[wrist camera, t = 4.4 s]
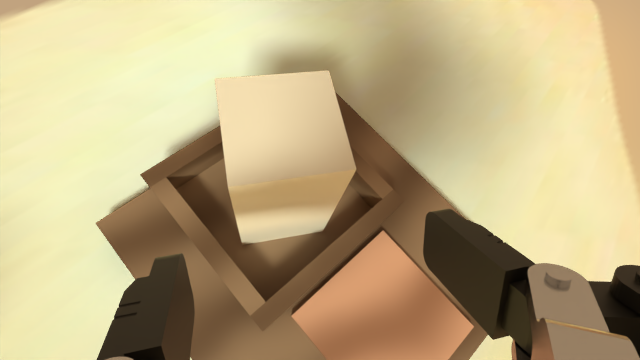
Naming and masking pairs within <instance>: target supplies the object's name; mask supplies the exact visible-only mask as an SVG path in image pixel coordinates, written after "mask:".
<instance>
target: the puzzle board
mask: <svg viewBox="0 0 640 360" xmlns="http://www.w3.org/2000/svg"><path fill="white" fill-rule="evenodd" d="M335 94H336V97H337V101H338V104H339V108H340V112H341V115H342V119H343V122H344V126H345V130H346V133H347V137H348V140H349V144H350V148H351V151H352V155H353V158H354V162H355V166H356V171H355V173H354V175H353V177H352V179H351V180H350V182H349V184H348V186H347V188H346V190H345V191H344V193H343V195H342V197H341V199H340V201H339V202H338V204H337V206H336V208H335V210H334V212H333V213H332V215H331V217H330V219H329V221H328V223H327V224H326V226H325V228H324V230H323V231H321V232H315V233H309V234H304V235H298V236H292V237H286V238H280V239H275V240H269V241H263V242H257V243H252V244H246V245H242V242H241V238H240V234H239V230H238V226H237V222H236V218H235V214H234V210H233V206H232V202H231V198H230V194H229V190H228V184H227V176H226V168H225V160H224V151H223V143H222V135H221V127H220V126H219V127H217V128H216V129H214V130H212V131H211V132H209V133H207V134H206V135H204V136H203V137H201V138H199V139H198V140H196V141H194V142H193V143H191V144H189V145H188V146H186V147H185V148H183V149H181V150H180V151H178V152H176V153H175V154H173V155H171V156H170V157H168V158H167V159H165V160H163V161H162V162H160V163H158V164H157V165H155V166H153V167H152V168H150V169H149V170H147V171H145V172H144V173H142V174H140V175H141V176H142V178H143V179H144V180H145V182H146V183H147V184H148V186H149V187H150V189H149V190H147V191H145V192H144V193H142V194H141V195H139V196H137V197H136V198H134V199H133V200H131V201H130V202H128V203H126V204H125V205H123V206H122V207H120V208H119V209H117V210H115V211H114V212H112V213H111V214H109V215H108V216H106V217H104V218H103V219H101V220H100V221H98V222H96V225H97V226H98V227H99V229H100V230H101V232H102V233H103V234H104V236H105V237H106V239H107V240H108V241H109V243H110V244H111V246H112V247H113V249H114V250H115V251H116V253H117V254H118V256H119V257H120V258H121V260H122V261H123V263H124V264H125V265H126V267H127V268H128V270H129V271H130V272H131V274H132V275H133V277H134V278H135V280H136V279H137V278H141V277H147V276H149V274H150V271H151V268H152V265H153V262H154V259H155V258H156V257H162V256H168V255H174V254H180V253H182V254H183V255H184V258H185V262H186V266H187V270H188V275H189V279H190V284H191V288H192V292H193V298H194V307H195V316H194V326H193V335H192V344H191V353H190V357H191V358H192V360H469V359H470V357H471V356H472V355H473V353H474V352H475V351H476V349H477V348H478V347H479V345H480V344H481V343H482V342H483V340H484V339H485V338H486V336H487V335H488V334H487V333H486V331H485V330H484V329H483V328H482V327H481V326H480V325H479V324H478V323H477V321H476V320H475V319H474V318H473V317H472V316H471V315H470V314H469V313H468V312H467V310H466V309H465V308H464V307H463V306H462V305H461V304H460V303H459V302H458V300H457V299H456V298H455V297H454V296H453V295H452V294H451V293H450V292H449V291H448V289H447V288H446V287H445V286H444V285H443V284H442V283H441V282H440V281H439V279H438V278H437V277H436V276H435V275H434V274H433V273H432V272H431V271H430V270H429V268H428V267H427V265H426V263H425V260H424V256H423V244H424V230H425V218H426V215H427V213H428V212H432V211H437V210H443V209H452V210H453V211H455V212H456V213H458V212H457V211H456V210H455V209H454V208H453V207H452V206H451V205H450V204H449V203H448V202H447V201H446V200H445V199H444V198H443V197H442V196H441V195H440V194H439V193H438V192H437V191H436V190H435V189H434V188H433V187H432V186H431V185H430V184H429V183H428V182H427V181H426V180H425V179H424V178H423V177H422V176H421V175H419V174H418V173H417V172H416V171H415V170H414V169H413V168H412V167H411V166H410V165H409V164H408V163H407V162H406V161H405V160H404V159H403V158H402V157H401V156H400V155H399V154H398V153H397V152H396V151H395V150H394V149H393V148H392V147H391V146H390V145H389V144H388V143H387V142H386V141H385V140H384V139H383V138H382V137H381V136H380V135H379V134H378V133H377V132H376V131H375V130H374V129H372V128H371V127H370V126H369V125H368V124H367V123H366V122H365V121H364V120H363V119H362V118H361V117H360V116H359V115H358V114H357V113H356V112H355V111H354V110H353V109H352V108H351V107H350V106H349V105H348V104H347V103H346V102H345V101H344V100H343V99H342V98H341V97H340V96H339V95H338V94H337V93H336V92H335ZM458 214H459V213H458ZM459 215H460V214H459ZM460 216H461V215H460Z"/></svg>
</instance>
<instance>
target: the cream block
mask: <svg viewBox="0 0 640 360" xmlns="http://www.w3.org/2000/svg"><path fill="white" fill-rule="evenodd" d="M215 86H216V94H217V102H218V110H219V119H220V127H221V135H222V143H223V151H224V160H225V168H226V176H227V184H228V190H229V194H230V198H231V202H232V206H233V210H234V214H235V218H236V222H237V226H238V230H239V234H240V238H241V242H242V245H246V244H252V243H257V242H263V241H269V240H275V239H280V238H286V237H292V236H298V235H304V234H309V233H315V232H321V231H323V230H324V228H325V226H326V224H327V223H328V221H329V219H330V217H331V215H332V213H333V212H334V210H335V208H336V206H337V204H338V202H339V201H340V199H341V197H342V195H343V193H344V191H345V190H346V188H347V186H348V184H349V182H350V180H351V179H352V177H353V175H354V173H355V171H356V166H355V162H354V158H353V155H352V151H351V148H350V144H349V140H348V137H347V133H346V130H345V126H344V122H343V119H342V115H341V112H340V108H339V104H338V101H337V97H336V94H335V90H334V87H333V83H332V79H331V76H330V72H329V70H327V71H313V72H299V73H285V74H272V75H258V76H244V77H230V78H216V79H215Z"/></svg>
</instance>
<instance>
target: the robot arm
mask: <svg viewBox="0 0 640 360" xmlns="http://www.w3.org/2000/svg"><path fill="white" fill-rule="evenodd" d="M423 256H424V260H425V263H426V265H427V267H428V268H429V270H430V271H431V272H432V273H433V274H434V275H435V276H436V277H437V278H438V279H439V281H440V282H441V283H442V284H443V285H444V286H445V287H446V288H447V289H448V291H449V292H450V293H451V294H452V295H453V296H454V297H455V298H456V299H457V300H458V302H459V303H460V304H461V305H462V306H463V307H464V308H465V309H466V310H467V312H468V313H469V314H470V315H471V316H472V317H473V318H474V319H475V320H476V321H477V323H478V324H479V325H480V326H481V327H482V328H483V329H484V330H485V331H486V333H487V334H488V335H489V336H490V337H491V338H492V339H493V340H494V339H497V338H501V337H505V336H509V335H510V336H511V337H512V338H513V343H512V349H511V350H512V360H640V266H636V265H623V266H620V267H618V268H617V269H616V270H615V273H614V276H613V279H612V282H594V281H587V280H586V279H585V278H584V277H583V276H581V275H580V274H578V273H577V272H575V271H573V270H571V269H568V268H566V267H563V266H559V265H555V264H547V263H541V264H535V263H533V262H532V261H531V260H529V259H528V258H526V257H525V256H524V255H522V254H521V253H519V252H518V251H517V250H515V249H514V248H512V247H511V246H510V245H508V244H507V243H503V241H502V240H501V239H500V238H498V237H497V236H494V235H493V233H491V232H490V231H488V230H487V229H486V228H484V227H483V226H481V225H478V224H476V223H473V222H471V221H469V220H466V219H464V218H463V217H462V216H460V215H459V214H458V213H456V212H455V211H453V210H452V209H443V210H437V211H432V212H428V213H427V215H426V218H425V230H424V244H423ZM194 316H195V307H194V298H193V292H192V288H191V284H190V279H189V275H188V270H187V266H186V262H185V258H184V255H183V254H182V253H180V254H174V255H168V256H162V257H156V258H155V259H154V262H153V265H152V268H151V271H150V274H149V276H147V277H141V278H137V279H136V280H135V281H134V282H133V283H132V284H131V285H130V286H129V287H128V288H127V289H126V290H125V291H124V294H123V296H122V299H121V301H120V303H119V308H117V311H116V313H115V316H114V320H113V321H112V323H111V326H110V328H109V331H108V333H107V336H106V338H105V341H104V343H103V345H102V348H101V350H100V353H99V355H98V358H97V360H190V353H191V344H192V335H193V326H194Z"/></svg>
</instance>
